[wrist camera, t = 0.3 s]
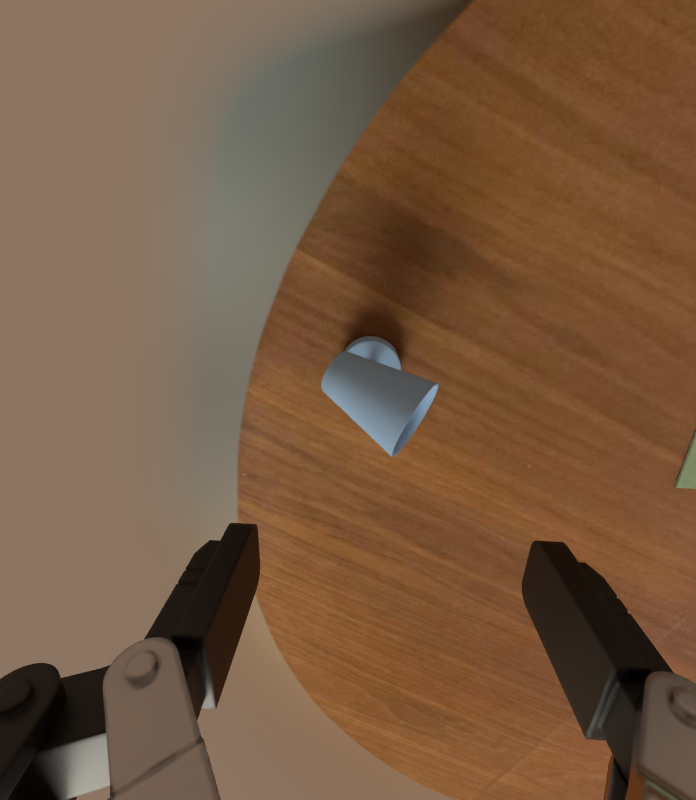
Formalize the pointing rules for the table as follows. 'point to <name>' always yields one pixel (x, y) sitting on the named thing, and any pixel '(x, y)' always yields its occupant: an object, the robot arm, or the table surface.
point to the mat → (688, 468)
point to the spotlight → (378, 392)
